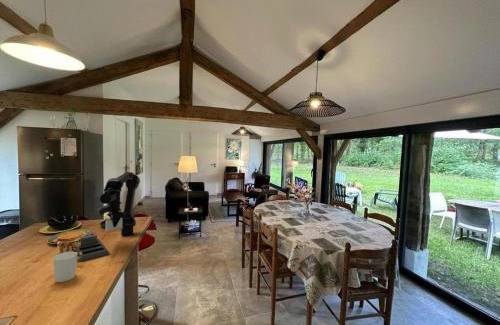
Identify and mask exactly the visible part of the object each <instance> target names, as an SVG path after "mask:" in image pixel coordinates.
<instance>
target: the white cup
mask: <svg viewBox="0 0 500 325" xmlns="http://www.w3.org/2000/svg"><path fill="white" fill-rule="evenodd" d="M77 263H78V262H77V252H73V251H66V252H65V251H64V252H62V253H59V254H57V255H55V256H54V257H53V269H54V270H53V271H54V280H55V282H56V283H64V282H67V281H70V280H72V279H74V278H75V277H76V270H77Z"/></svg>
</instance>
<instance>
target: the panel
mask: <svg viewBox="0 0 500 325" xmlns="http://www.w3.org/2000/svg"><path fill="white" fill-rule="evenodd" d="M121 229H122V218H121V219H120V220H119V222H118V224H117V226H116V227H113V221H112V219H110V218H108V219H105V232H111V231H115V230H121Z"/></svg>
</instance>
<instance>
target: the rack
mask: <svg viewBox="0 0 500 325" xmlns="http://www.w3.org/2000/svg"><path fill="white" fill-rule="evenodd" d="M81 237H82V238H81V246H79V247H77V248H76V250H77V251H76V252H77V263H81V262H85V261H90V260H94V259H96V258H97V259H98V258H101V257H104V256H109V255H111V253H110V251H109V249H107V247H106V246H105V245H104V244H103V242H102V241H101V240H100V239H99V238H98V235H97V234H91V235H85V236H81Z"/></svg>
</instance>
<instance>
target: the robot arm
mask: <svg viewBox="0 0 500 325" xmlns="http://www.w3.org/2000/svg"><path fill="white" fill-rule="evenodd" d="M124 183H125V186H126V188H127V191H126V197H125V202H124V203H125V204H124V210H122V209H121V204H122V201H121V194H122V193H121V192H122V188H123V187H124ZM140 183H141V179H140V177H139V176H138V175H136V174H134V172H131V171H125V172H124V173H123V174H121V175H119V176H117V177H113V178H109V179H108V181H107V182H106V184H105V187H104V189H103V194H100V197H99V201H100V202H101V204H102V205H103V206H100V207H97V208H96V212H97V214H98V215H99V216H103V215H105V214H106V213H107V214H106V215H107V217H109V219H112V221H113V227H116V226H117V224H118V222H119V220H120V219H121V218H122V229H120V235H121V236H122V237H123V238H124V237H130V236H134V235H135V233H134V226H135V227H136V225H137V221H136V219H135V214H134V213H133V208H134V207H133V206H134V200H135V195H136V194H135V193H136V190H137V189H138V188H139V185H140ZM104 204H105V205H104Z"/></svg>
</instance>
